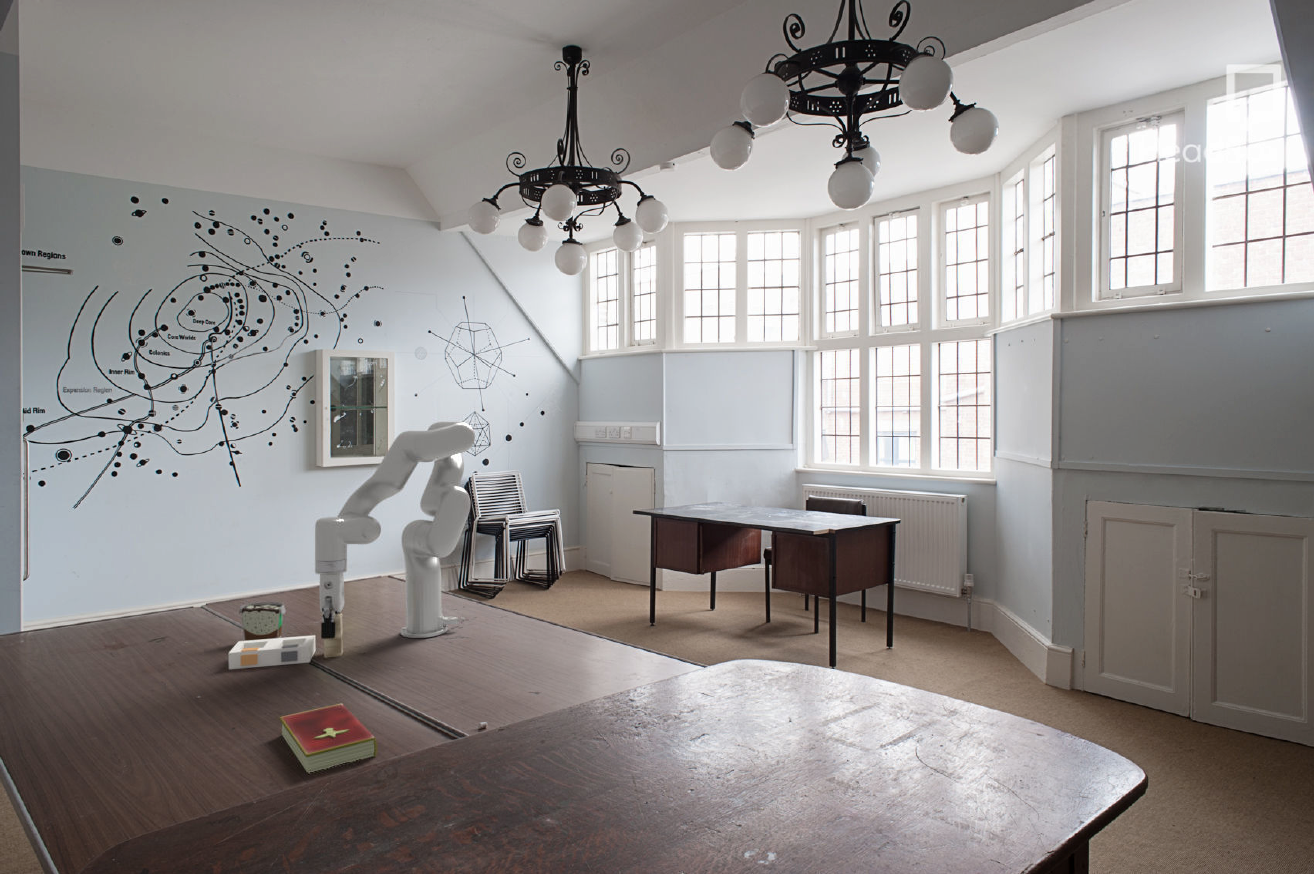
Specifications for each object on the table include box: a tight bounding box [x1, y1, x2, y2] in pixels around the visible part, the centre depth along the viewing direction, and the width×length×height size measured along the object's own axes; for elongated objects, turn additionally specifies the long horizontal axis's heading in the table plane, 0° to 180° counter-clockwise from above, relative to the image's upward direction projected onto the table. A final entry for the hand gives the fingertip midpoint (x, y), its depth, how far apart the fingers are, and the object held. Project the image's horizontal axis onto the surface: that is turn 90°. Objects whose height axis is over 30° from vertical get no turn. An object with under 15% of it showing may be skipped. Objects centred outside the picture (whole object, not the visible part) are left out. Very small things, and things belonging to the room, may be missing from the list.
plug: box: [323, 612, 344, 658], centre depth 199 cm, size 4×4×10 cm
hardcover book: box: [278, 703, 378, 774], centre depth 145 cm, size 12×21×4 cm, turn 37°
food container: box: [238, 601, 287, 641], centre depth 212 cm, size 12×6×10 cm, turn 84°
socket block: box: [227, 635, 316, 670], centre depth 195 cm, size 18×10×4 cm, turn 106°
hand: (330, 632), depth 199 cm, fingers open, 9 cm apart
